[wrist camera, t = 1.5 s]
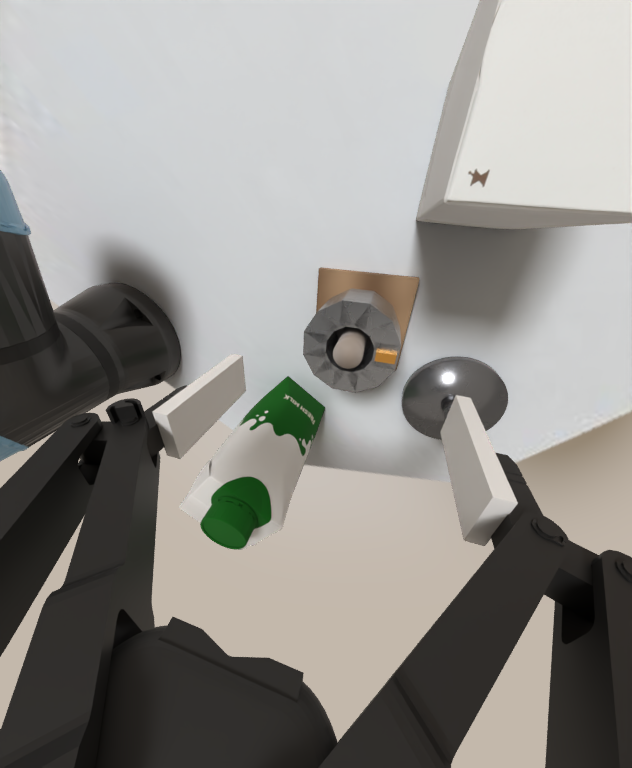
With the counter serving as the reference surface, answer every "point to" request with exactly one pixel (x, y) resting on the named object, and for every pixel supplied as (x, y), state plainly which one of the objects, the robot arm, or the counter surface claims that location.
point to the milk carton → (256, 469)
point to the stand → (387, 286)
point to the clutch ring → (357, 313)
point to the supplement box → (537, 119)
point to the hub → (452, 393)
